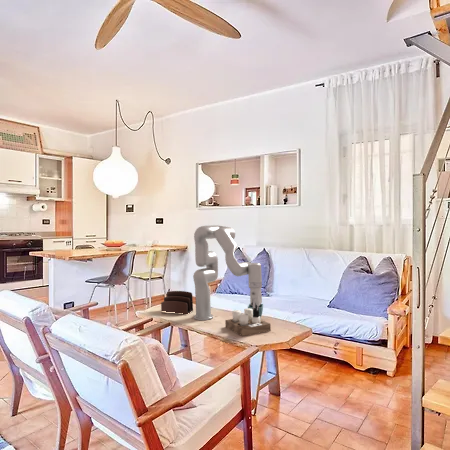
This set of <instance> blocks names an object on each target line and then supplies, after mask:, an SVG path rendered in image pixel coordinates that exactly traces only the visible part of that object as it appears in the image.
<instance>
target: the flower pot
mask: <svg viewBox="0 0 450 450" xmlns="http://www.w3.org/2000/svg"><path fill="white" fill-rule="evenodd" d="M247 308H250V309H253V305H252V306H251V303H249V304H248V305H247ZM263 310H264V303H261V304H260V305H259V316H260V319H261V320H262V316H263V312H264V311H263Z"/></svg>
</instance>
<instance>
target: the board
mask: <svg viewBox="0 0 450 450" xmlns="http://www.w3.org/2000/svg"><path fill="white" fill-rule="evenodd" d="M260 321H261V323H259V324H262V325H261V326H255V327H250V326H243V327H242V326H240V322H238V323H234V322H233V318H231V319H225V321H224V322H225V324H224V325H225V328H227V329H228V330H230V331H232V332H234V333H236V334H238V335H239V336H241V337H247V336H252V335H258V334H262V333H267V332H271V329H272V327H271V326H272V325H271V323H270V322H267V321H265V320H263V319H262V318H261V319H260ZM248 323H249V325H250V324H253V323H252V320H249V321H248Z"/></svg>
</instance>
